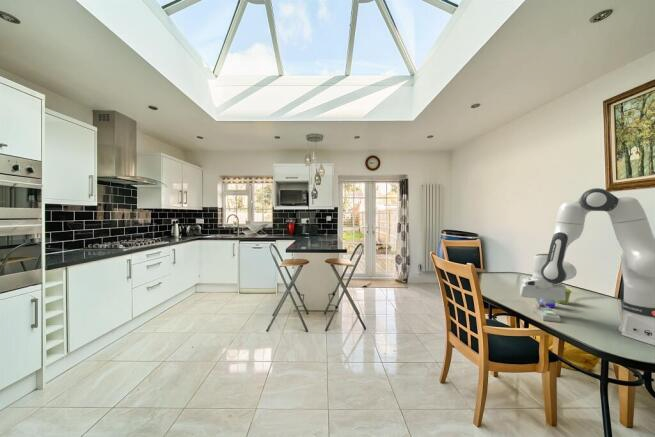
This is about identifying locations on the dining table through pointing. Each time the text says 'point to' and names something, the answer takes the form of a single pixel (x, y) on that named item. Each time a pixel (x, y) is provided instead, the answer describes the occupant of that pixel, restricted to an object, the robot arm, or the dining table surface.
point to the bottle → (549, 303)
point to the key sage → (549, 313)
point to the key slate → (545, 309)
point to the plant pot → (566, 297)
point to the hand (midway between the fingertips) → (541, 306)
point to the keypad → (546, 317)
